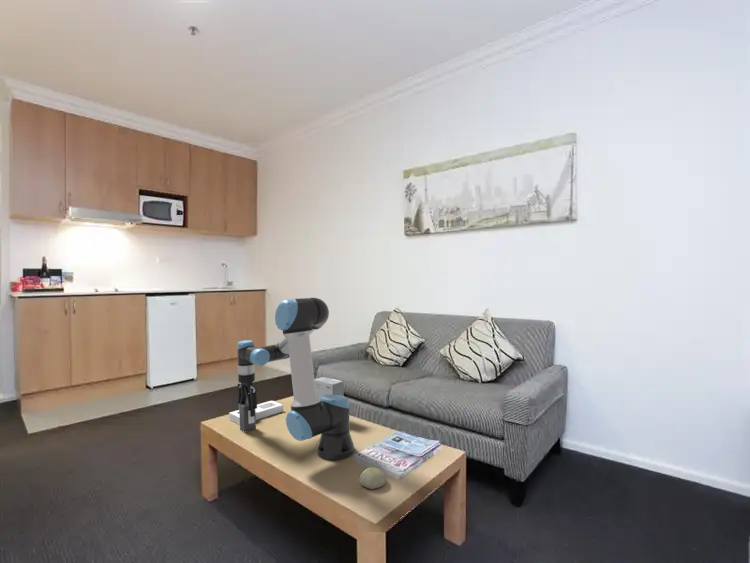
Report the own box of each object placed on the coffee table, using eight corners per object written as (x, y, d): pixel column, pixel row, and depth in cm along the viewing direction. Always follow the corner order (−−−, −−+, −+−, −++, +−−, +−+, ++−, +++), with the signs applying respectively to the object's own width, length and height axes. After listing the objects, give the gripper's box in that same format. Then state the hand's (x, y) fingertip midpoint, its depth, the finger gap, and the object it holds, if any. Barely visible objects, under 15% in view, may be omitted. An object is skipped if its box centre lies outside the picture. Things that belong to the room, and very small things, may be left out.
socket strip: (283, 411, 212) (282, 388, 212) (240, 425, 194) (239, 399, 194) (272, 406, 220) (271, 384, 219) (229, 419, 202) (228, 395, 201)
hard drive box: (344, 420, 198) (344, 381, 197) (333, 425, 192) (332, 384, 191) (324, 413, 208) (323, 376, 207) (312, 418, 202) (312, 379, 201)
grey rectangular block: (255, 428, 190) (255, 403, 189) (244, 432, 185) (243, 407, 185) (251, 426, 192) (250, 401, 192) (239, 430, 188) (239, 405, 188)
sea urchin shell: (385, 470, 144) (385, 462, 139) (385, 494, 139) (385, 487, 133) (360, 470, 145) (359, 462, 139) (359, 493, 139) (358, 486, 133)
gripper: (264, 375, 184) (265, 423, 185) (243, 368, 197) (244, 414, 198) (249, 378, 179) (251, 428, 179) (229, 371, 192) (230, 418, 192)
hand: (247, 421), depth 189 cm, fingers open, 6 cm apart
